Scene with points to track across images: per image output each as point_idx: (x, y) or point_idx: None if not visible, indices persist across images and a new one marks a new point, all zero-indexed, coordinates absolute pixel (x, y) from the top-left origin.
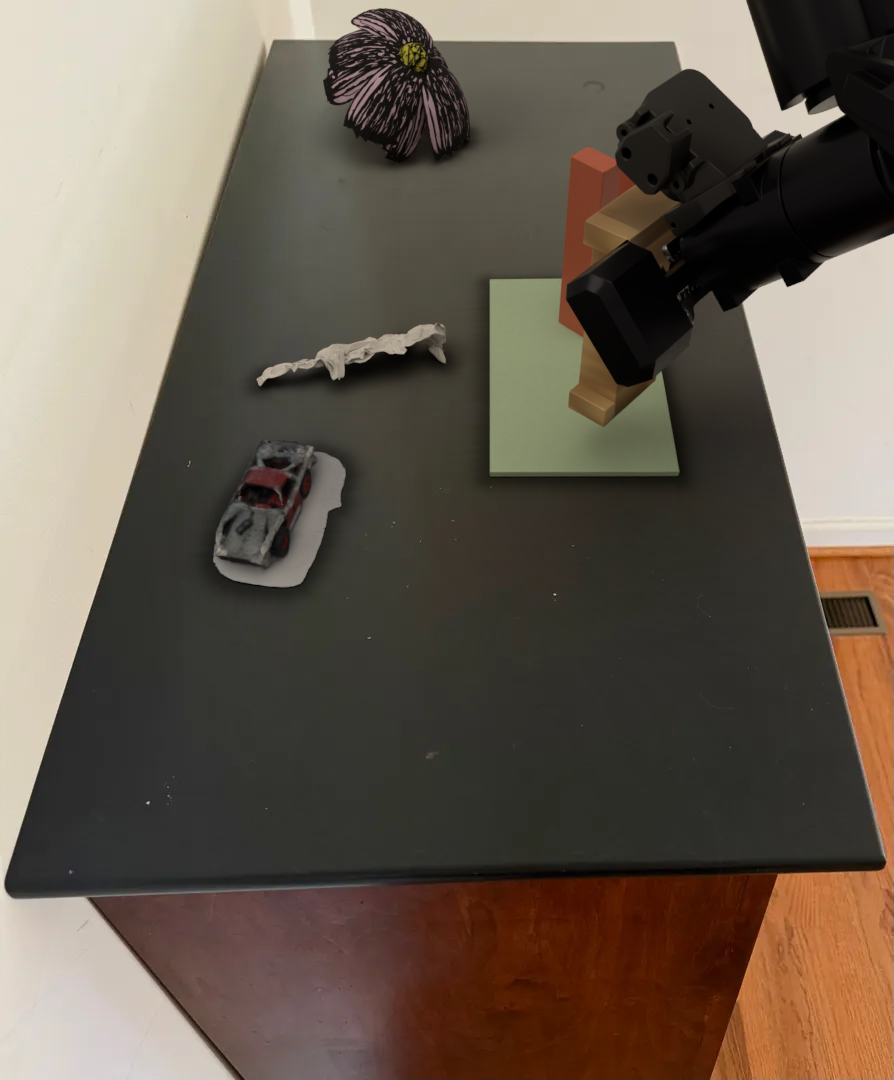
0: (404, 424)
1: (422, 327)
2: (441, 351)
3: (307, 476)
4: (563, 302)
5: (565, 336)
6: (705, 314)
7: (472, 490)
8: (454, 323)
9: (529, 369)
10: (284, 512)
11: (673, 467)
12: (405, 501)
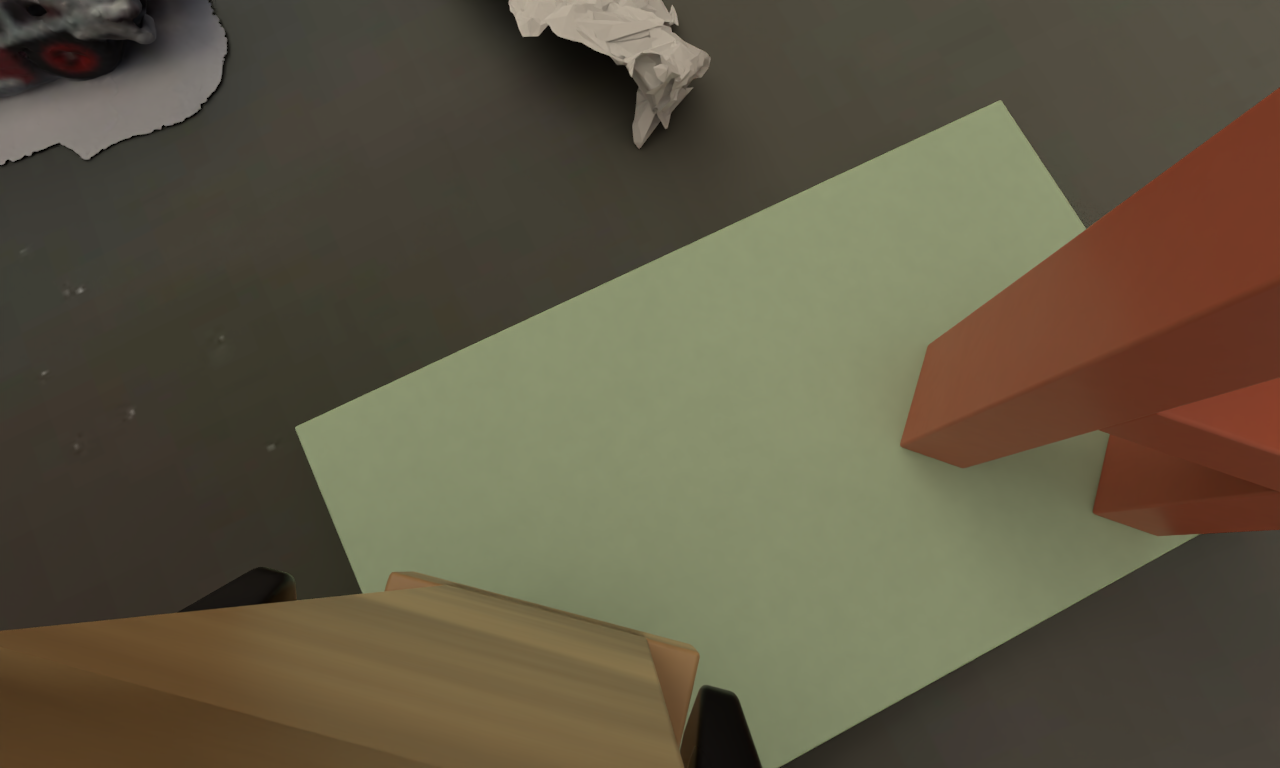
0: (393, 161)
1: (656, 30)
2: (647, 118)
3: (71, 46)
4: (955, 335)
5: (880, 388)
6: (1215, 735)
7: (243, 411)
8: (797, 99)
9: (703, 354)
10: None
11: None
12: (152, 282)
